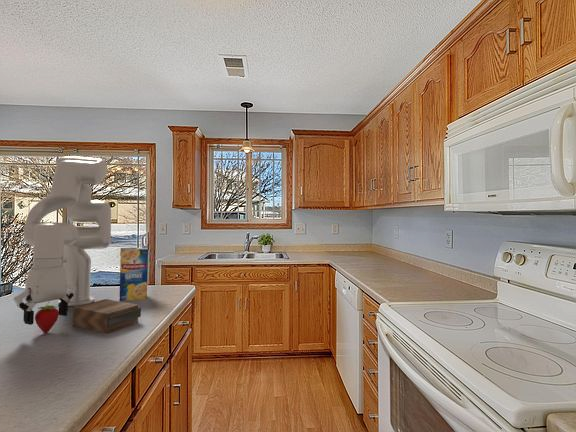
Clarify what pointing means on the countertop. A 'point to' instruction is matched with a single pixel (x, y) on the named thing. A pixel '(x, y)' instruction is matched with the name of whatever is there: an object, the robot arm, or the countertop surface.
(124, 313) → the brown wooden block
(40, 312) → the strawberry
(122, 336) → the countertop surface
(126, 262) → the blue yellow food box
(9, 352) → the countertop surface
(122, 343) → the countertop surface
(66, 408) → the countertop surface
